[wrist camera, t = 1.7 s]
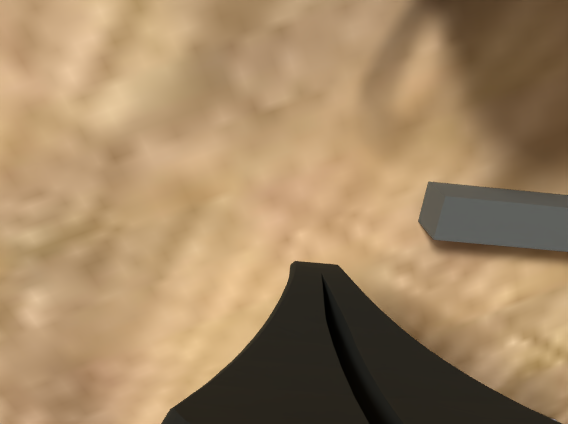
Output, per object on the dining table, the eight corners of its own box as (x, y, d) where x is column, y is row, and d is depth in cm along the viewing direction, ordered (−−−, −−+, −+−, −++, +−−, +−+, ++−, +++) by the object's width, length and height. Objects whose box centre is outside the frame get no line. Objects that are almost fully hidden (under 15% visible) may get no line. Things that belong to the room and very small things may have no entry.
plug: (415, 229, 20) (437, 257, 18) (430, 171, 19) (455, 191, 16) (621, 248, 21) (673, 278, 18) (648, 193, 20) (708, 216, 17)
